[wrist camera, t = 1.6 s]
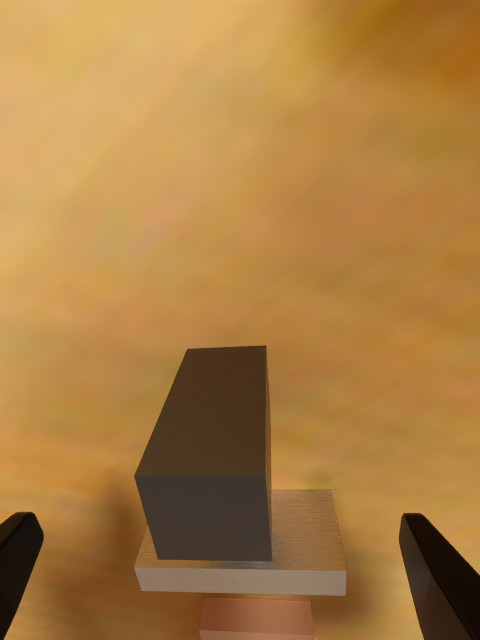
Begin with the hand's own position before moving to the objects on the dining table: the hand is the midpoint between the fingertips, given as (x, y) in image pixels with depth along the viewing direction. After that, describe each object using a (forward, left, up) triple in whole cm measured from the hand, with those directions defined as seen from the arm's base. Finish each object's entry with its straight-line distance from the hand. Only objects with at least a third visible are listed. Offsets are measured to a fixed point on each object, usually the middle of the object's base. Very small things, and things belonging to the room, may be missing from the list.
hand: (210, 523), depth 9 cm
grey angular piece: (0, +3, -6) cm, 7 cm away
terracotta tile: (0, +17, -6) cm, 19 cm away
